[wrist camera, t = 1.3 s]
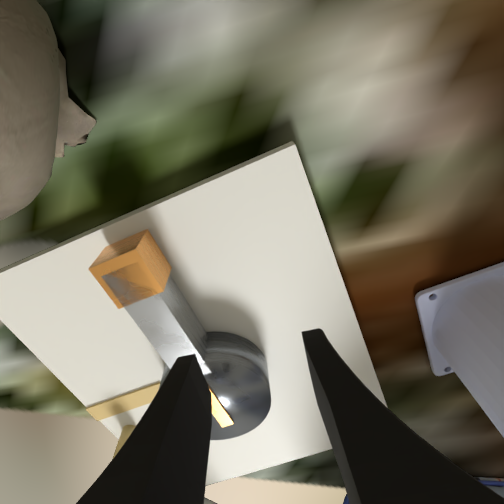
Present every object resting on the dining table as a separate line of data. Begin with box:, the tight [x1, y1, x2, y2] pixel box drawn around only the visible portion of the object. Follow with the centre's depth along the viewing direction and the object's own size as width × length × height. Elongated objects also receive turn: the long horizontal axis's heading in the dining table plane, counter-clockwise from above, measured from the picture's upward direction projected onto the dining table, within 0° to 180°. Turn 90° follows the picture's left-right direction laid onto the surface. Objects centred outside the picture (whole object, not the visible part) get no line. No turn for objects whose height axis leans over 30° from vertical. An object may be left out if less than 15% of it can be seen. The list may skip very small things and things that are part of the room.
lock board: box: [0, 141, 388, 486], centre depth 22 cm, size 20×24×4 cm
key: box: [88, 229, 271, 440], centre depth 20 cm, size 15×7×3 cm, turn 23°
